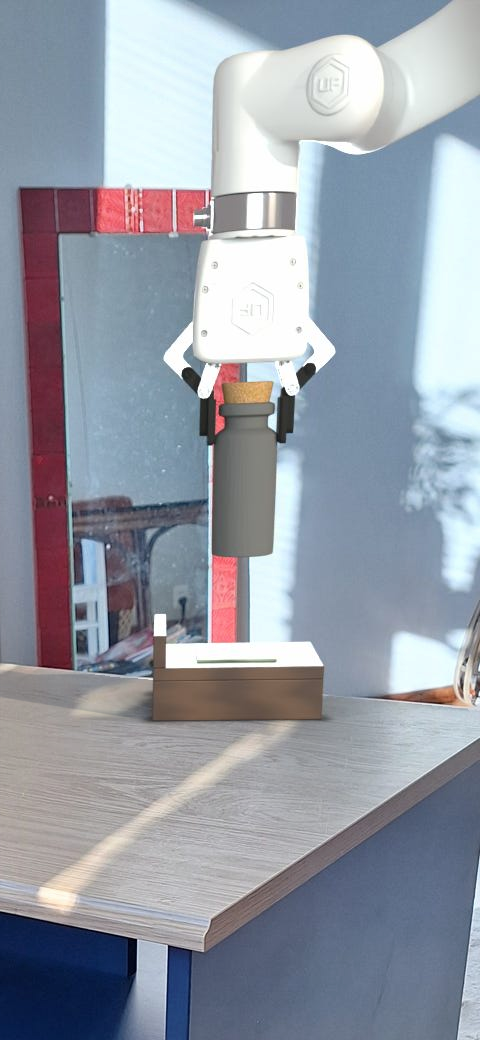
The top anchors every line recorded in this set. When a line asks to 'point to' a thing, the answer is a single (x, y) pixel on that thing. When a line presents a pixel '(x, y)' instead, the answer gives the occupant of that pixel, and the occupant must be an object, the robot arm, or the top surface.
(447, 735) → the top surface
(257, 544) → the bottle
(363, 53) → the robot arm
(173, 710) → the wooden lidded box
